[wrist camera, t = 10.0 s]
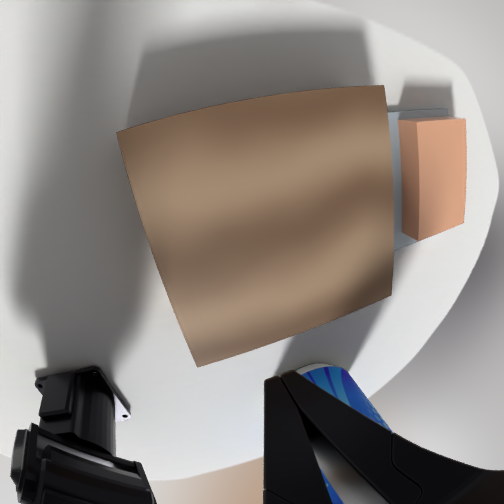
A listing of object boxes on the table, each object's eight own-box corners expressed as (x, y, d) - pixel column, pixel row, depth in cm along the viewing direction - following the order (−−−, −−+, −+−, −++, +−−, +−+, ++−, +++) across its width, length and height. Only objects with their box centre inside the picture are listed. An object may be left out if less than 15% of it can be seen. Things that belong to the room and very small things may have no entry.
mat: (444, 228, 26) (447, 229, 26) (361, 260, 24) (364, 262, 24) (444, 109, 21) (447, 109, 21) (350, 116, 19) (353, 116, 19)
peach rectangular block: (418, 241, 22) (402, 232, 24) (463, 223, 23) (448, 215, 25) (416, 121, 18) (397, 119, 20) (465, 118, 19) (447, 116, 21)
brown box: (361, 270, 25) (391, 295, 21) (188, 329, 22) (197, 367, 19) (346, 87, 18) (384, 85, 15) (125, 130, 16) (116, 132, 12)
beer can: (256, 378, 26) (335, 543, 12) (343, 343, 27) (450, 476, 13) (271, 426, 30) (333, 554, 16) (344, 396, 31) (421, 508, 17)
